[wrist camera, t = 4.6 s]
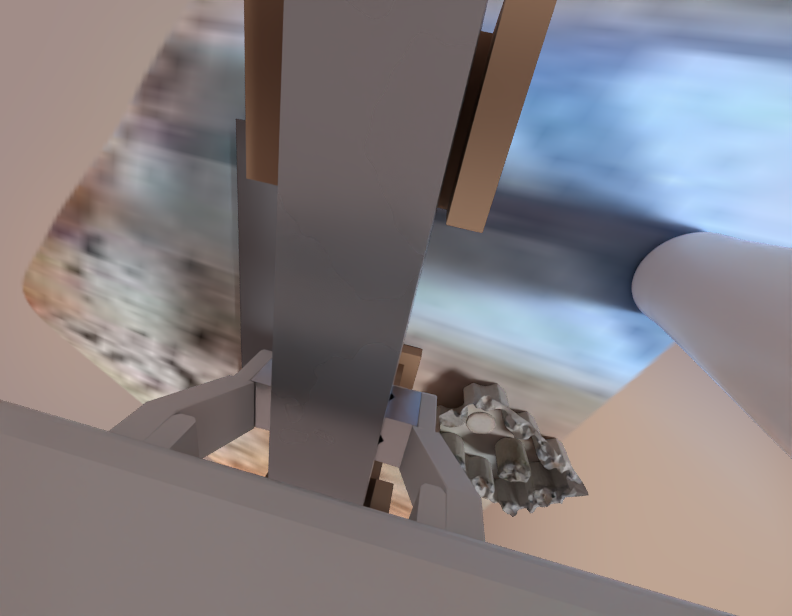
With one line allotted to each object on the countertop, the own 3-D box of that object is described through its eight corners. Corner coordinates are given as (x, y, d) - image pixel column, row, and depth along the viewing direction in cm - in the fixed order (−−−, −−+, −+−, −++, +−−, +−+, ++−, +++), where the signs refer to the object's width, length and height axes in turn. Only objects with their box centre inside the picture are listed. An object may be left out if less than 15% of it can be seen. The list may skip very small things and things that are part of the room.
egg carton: (416, 412, 26) (410, 453, 22) (493, 364, 23) (501, 402, 19) (498, 489, 28) (505, 538, 24) (577, 454, 25) (599, 504, 21)
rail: (353, 543, 16) (333, 623, 13) (296, 525, 16) (264, 600, 13) (480, 34, 7) (498, -49, 4) (349, 8, 7) (286, -88, 4)
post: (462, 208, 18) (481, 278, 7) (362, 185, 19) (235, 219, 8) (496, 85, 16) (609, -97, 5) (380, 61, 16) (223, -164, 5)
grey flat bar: (325, 408, 27) (322, 413, 26) (246, 387, 27) (242, 391, 26) (359, 146, 18) (356, 145, 17) (242, 120, 18) (235, 118, 18)
